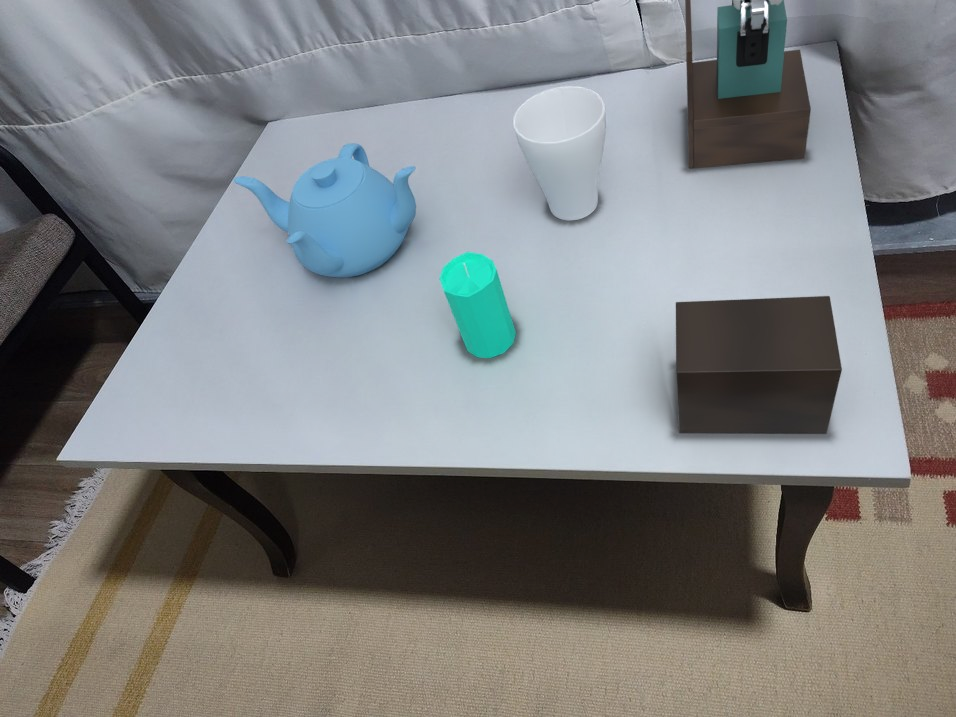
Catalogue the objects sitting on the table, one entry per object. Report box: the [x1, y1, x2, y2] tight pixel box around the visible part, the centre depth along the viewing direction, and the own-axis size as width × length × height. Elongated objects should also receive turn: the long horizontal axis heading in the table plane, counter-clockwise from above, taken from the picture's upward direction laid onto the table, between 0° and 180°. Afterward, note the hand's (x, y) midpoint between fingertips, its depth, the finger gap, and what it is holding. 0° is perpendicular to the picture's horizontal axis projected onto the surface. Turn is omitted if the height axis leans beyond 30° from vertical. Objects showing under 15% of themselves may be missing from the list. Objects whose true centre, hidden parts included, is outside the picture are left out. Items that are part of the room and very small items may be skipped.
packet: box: [716, 0, 788, 99], centre depth 87 cm, size 7×4×9 cm, turn 81°
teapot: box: [233, 142, 417, 278], centre depth 96 cm, size 17×19×12 cm
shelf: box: [684, 0, 812, 169], centre depth 90 cm, size 13×12×16 cm
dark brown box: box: [675, 295, 843, 435], centre depth 69 cm, size 13×8×10 cm, turn 81°
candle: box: [439, 251, 517, 359], centre depth 80 cm, size 6×6×12 cm
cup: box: [512, 85, 607, 221], centre depth 90 cm, size 10×10×14 cm
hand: (748, 39), depth 86 cm, fingers open, 9 cm apart
